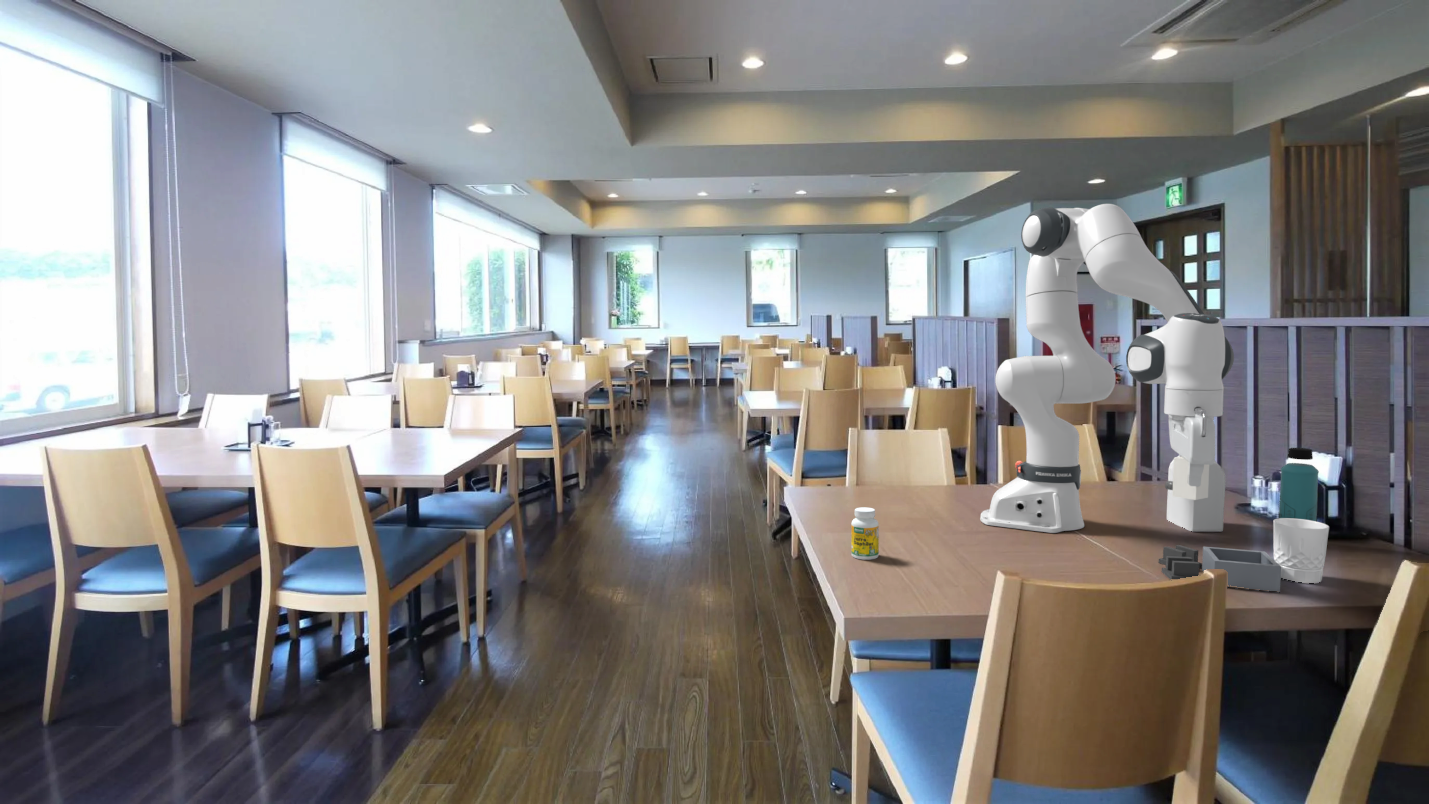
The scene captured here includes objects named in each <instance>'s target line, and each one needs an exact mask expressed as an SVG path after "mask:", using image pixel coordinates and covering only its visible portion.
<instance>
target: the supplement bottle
mask: <svg viewBox="0 0 1429 804" xmlns="http://www.w3.org/2000/svg"><path fill="white" fill-rule="evenodd" d="M854 516H855V518H853V520H851V524H850V525H851V526H850V528H851V529H850V530H851V535H850V536H851V539H850V541H851V542H850V544H851V557H853V558H854V559H857V560H861V561H862V560H864V561H870V560H871V561H872V560H876V559H877V558H878V557H879V555H880V554H879V553H880V551H879V549H880V547H879V546H880V545H879V544H880V542H879V541H880V540H879V536H880V535H879V534H880V533H879V532H880V529H879V527H880V526H879V524H880V523H879V521H878V519H876V518H875V517H876V509H875V508H872V507H865V506H863V507H862V506H861V507H856V508H855V509H854Z"/></svg>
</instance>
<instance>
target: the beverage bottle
mask: <svg viewBox="0 0 1429 804" xmlns="http://www.w3.org/2000/svg"><path fill="white" fill-rule="evenodd" d="M1287 458H1288V459H1293V460H1301V461H1302V460H1305V461H1306V460H1307V461H1308V460H1313V459H1314V456H1313V449H1310V448H1305V447H1289V448H1288V452H1287ZM1318 483H1319V470H1318V469H1317V467H1315V465H1312V464H1309V463H1303V462H1302V463H1299V462H1289V463H1286V464H1284V465H1283V466H1282V467H1281V468H1280V488H1279V500H1278V512H1277V513H1278V514H1277V516H1278V519H1280V518H1293V519H1304V520H1311V521H1316V522H1318V515H1317V514H1318V509H1319V507H1318V505H1319V503H1318V487H1319V486H1318V485H1319V484H1318Z"/></svg>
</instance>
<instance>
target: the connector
mask: <svg viewBox="0 0 1429 804" xmlns="http://www.w3.org/2000/svg"><path fill="white" fill-rule="evenodd" d="M1173 459H1174V468H1173V481H1168V480H1166V482H1165V484H1164V487H1165V489H1166V490H1167V491H1168V490H1173V494H1172V496H1174V497H1181V498H1187V499H1193V500H1198V499H1203V498H1208V484H1209V465H1204V469H1203V473H1202V476H1201V485H1200V486H1198V487H1196V486H1190V485H1189V484H1188V483H1187V482H1188V474H1189V466H1188V461H1187V460H1186V459H1185V458H1183V457H1182V456H1181V457H1177V456H1176V457H1173Z"/></svg>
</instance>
